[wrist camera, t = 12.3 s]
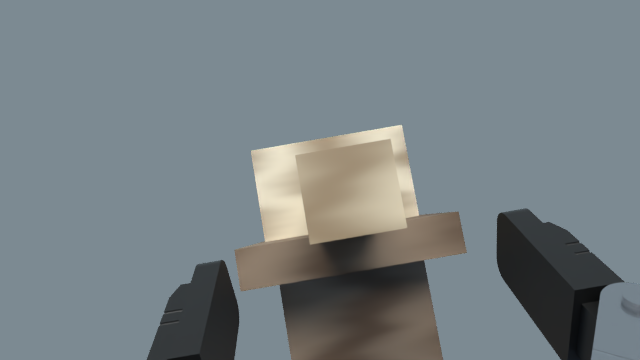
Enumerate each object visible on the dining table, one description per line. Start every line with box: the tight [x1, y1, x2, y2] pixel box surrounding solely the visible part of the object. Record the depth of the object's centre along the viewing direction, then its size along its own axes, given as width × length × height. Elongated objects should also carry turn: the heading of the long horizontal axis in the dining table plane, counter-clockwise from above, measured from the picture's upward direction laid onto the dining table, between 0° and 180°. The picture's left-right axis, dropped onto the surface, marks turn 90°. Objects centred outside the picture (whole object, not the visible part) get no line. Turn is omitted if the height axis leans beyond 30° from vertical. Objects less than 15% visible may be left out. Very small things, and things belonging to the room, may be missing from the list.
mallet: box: [251, 125, 419, 245], centre depth 24 cm, size 10×22×6 cm, turn 179°
